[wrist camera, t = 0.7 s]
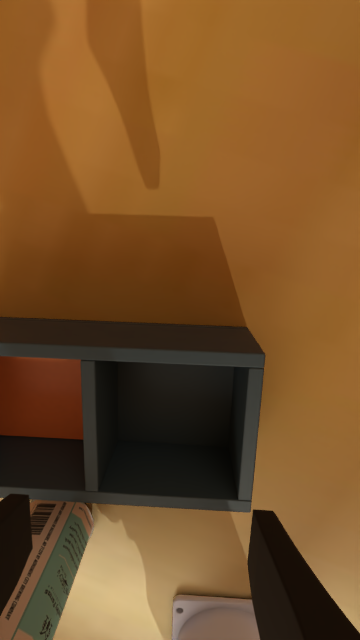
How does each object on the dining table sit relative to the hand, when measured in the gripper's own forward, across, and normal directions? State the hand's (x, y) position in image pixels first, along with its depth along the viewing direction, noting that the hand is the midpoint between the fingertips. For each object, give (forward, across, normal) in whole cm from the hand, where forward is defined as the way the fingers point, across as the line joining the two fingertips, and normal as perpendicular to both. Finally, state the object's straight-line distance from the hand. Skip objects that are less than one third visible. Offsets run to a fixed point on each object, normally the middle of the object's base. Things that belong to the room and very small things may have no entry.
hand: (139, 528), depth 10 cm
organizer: (+10, +3, 0) cm, 11 cm away
